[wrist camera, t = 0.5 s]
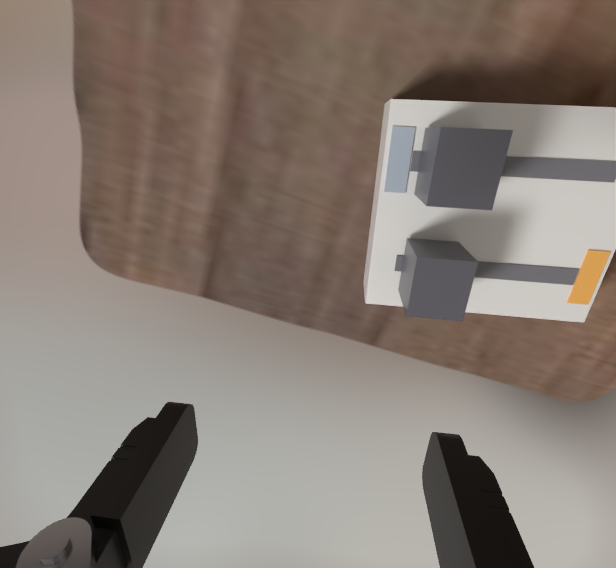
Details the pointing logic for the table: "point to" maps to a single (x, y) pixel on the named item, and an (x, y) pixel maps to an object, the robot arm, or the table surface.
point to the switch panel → (505, 207)
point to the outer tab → (436, 279)
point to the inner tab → (461, 167)
